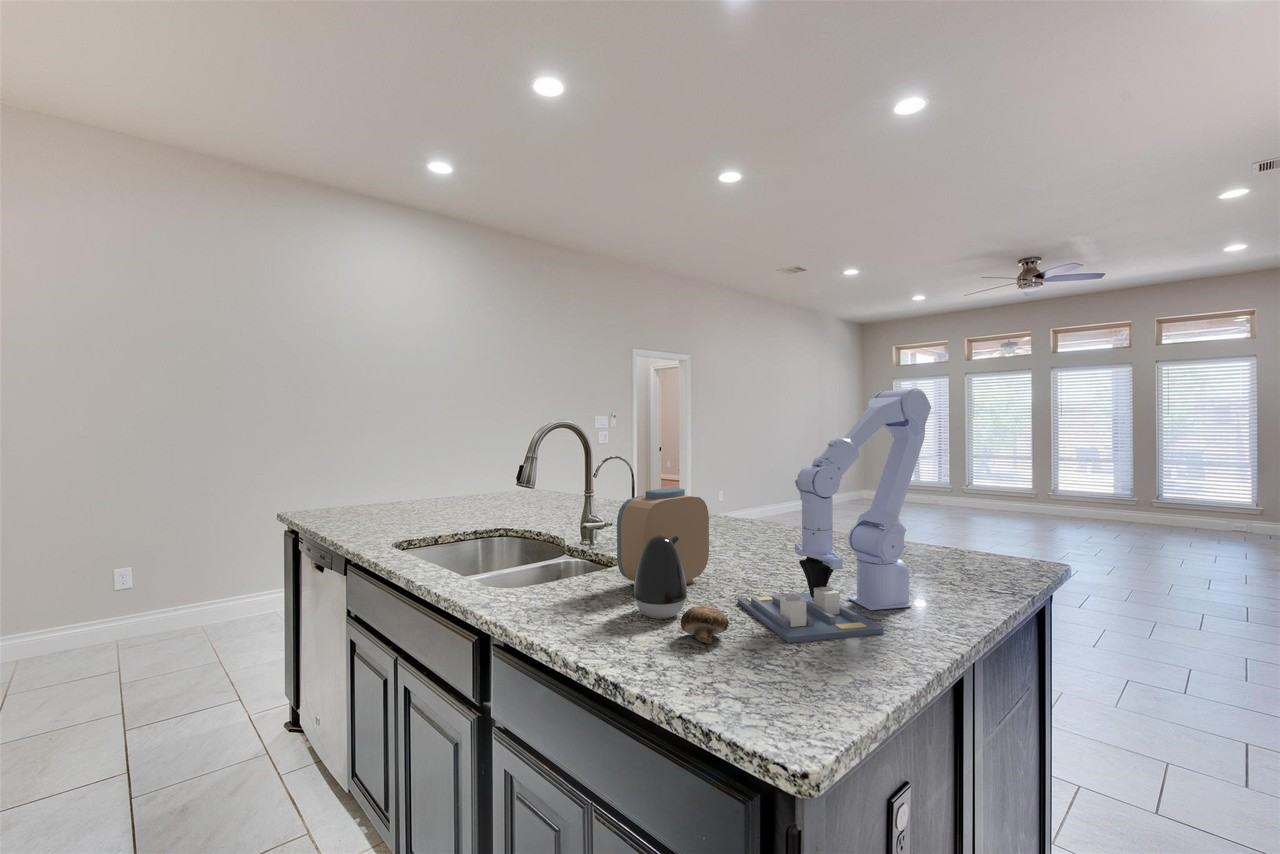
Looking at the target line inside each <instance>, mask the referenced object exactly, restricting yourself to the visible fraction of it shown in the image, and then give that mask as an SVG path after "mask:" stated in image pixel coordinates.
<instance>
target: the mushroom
mask: <svg viewBox="0 0 1280 854" xmlns="http://www.w3.org/2000/svg"><path fill="white" fill-rule="evenodd" d="M729 623H730V622H729V618H728V617H727V616H726V614H724V613H723V612H722V611H720V610H718V609H716V608H714V607H708V606H705V605H700V606H699V605H698V606H692V607H691V608H689V609H687V610H686V611H685V612H684V613H683V614H682V616H681V620H680V627H681V629H682V631H683V632H685V633H687V634H688V635H689V634H690V635H694V637H695V638H696V639H697V640H698V641H700V642H702V643H704V644H709V645H712V644H713V641H712V640H713V639H712V638H713V636H714V635H718V634H721V633H724V632H725V631H727V629H728V627H729Z"/></svg>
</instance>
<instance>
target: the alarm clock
mask: <svg viewBox="0 0 1280 854" xmlns="http://www.w3.org/2000/svg"><path fill="white" fill-rule="evenodd" d="M709 526H710V516H709V509H708V506H707V503H706V502H705V500H704V499H703V498H702V497H700V496H693V495H691V496H690V495H686V490H685V489H684V488H679V487H670V488H669V487H668V488H658V489H657V488H655V489H652V490H651V489H650V490H647V491H645V495H638V496H634V497H632V498H629V499H627V500H626V501H624V502H623V503H622V505H621V507H620V509H619V510H618V513H617V518H616V559H617V566H618V571H619V572H620V574H621V575H622V577H624V578H626V579H627V580H629V581H632V582H633V584H634V585H635V578H636V572H637V568H638V564H639V561H640V558H641V555H642V552H643V550H644V548H645V546H646V544H647V542H648V541H649V540H650V539H651V538H653V537H655V536H665V537H667V538H669V539H670V540H671V539H672V538H673V537H675V536H677V537H678V538H679V540H678V541H677V542H676V544H675V545H674V546H675V547H676V549H677V552H678V554H679V557H680V560H681V563H682V567H683V570H684V575H685V581H686V585H690V584H693V582H694V579H696V578H697V577H699V576H701V575H702V573H703V572H704V571H705V570H706V567H707V565H708V562H709V555H710V527H709ZM634 585H633V586H634Z"/></svg>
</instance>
